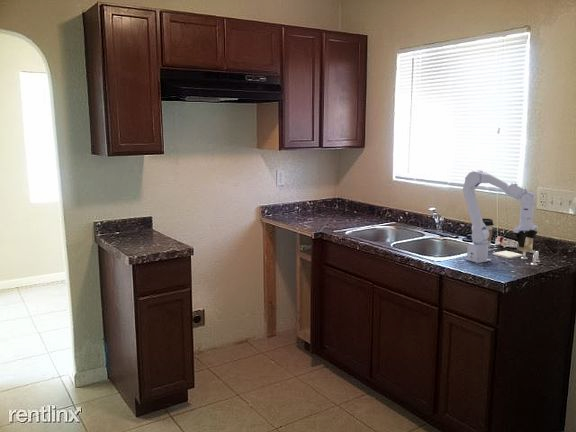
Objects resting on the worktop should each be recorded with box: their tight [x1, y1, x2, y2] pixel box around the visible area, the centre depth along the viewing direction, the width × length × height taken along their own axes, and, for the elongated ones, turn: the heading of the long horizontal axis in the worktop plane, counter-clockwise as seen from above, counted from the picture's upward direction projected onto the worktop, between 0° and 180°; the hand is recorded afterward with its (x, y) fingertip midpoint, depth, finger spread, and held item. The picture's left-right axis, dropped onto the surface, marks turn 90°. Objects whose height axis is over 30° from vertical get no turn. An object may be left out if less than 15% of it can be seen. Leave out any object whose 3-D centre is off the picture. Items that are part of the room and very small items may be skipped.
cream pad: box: [492, 250, 523, 259], centre depth 260 cm, size 10×10×1 cm
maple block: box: [516, 237, 534, 253], centre depth 237 cm, size 4×4×6 cm
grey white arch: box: [520, 249, 541, 266], centre depth 246 cm, size 9×13×5 cm
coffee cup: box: [482, 218, 494, 248], centre depth 279 cm, size 8×8×15 cm
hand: (524, 246), depth 237 cm, fingers closed on maple block, 4 cm apart
